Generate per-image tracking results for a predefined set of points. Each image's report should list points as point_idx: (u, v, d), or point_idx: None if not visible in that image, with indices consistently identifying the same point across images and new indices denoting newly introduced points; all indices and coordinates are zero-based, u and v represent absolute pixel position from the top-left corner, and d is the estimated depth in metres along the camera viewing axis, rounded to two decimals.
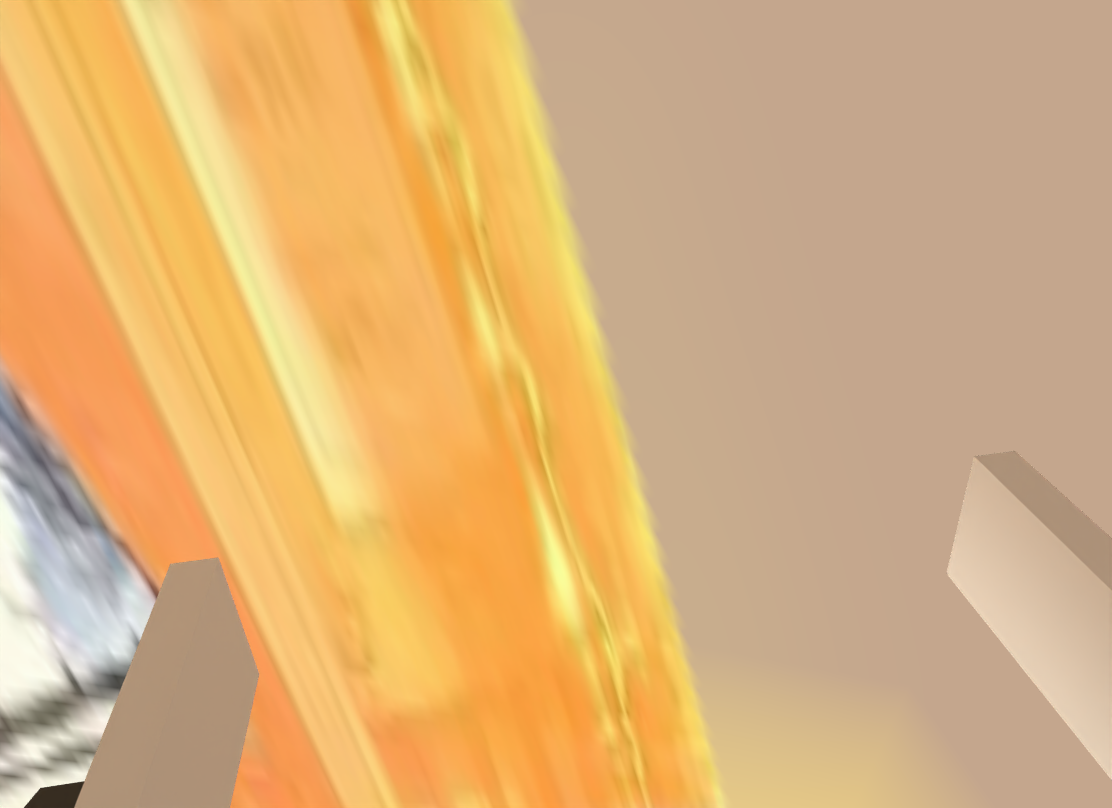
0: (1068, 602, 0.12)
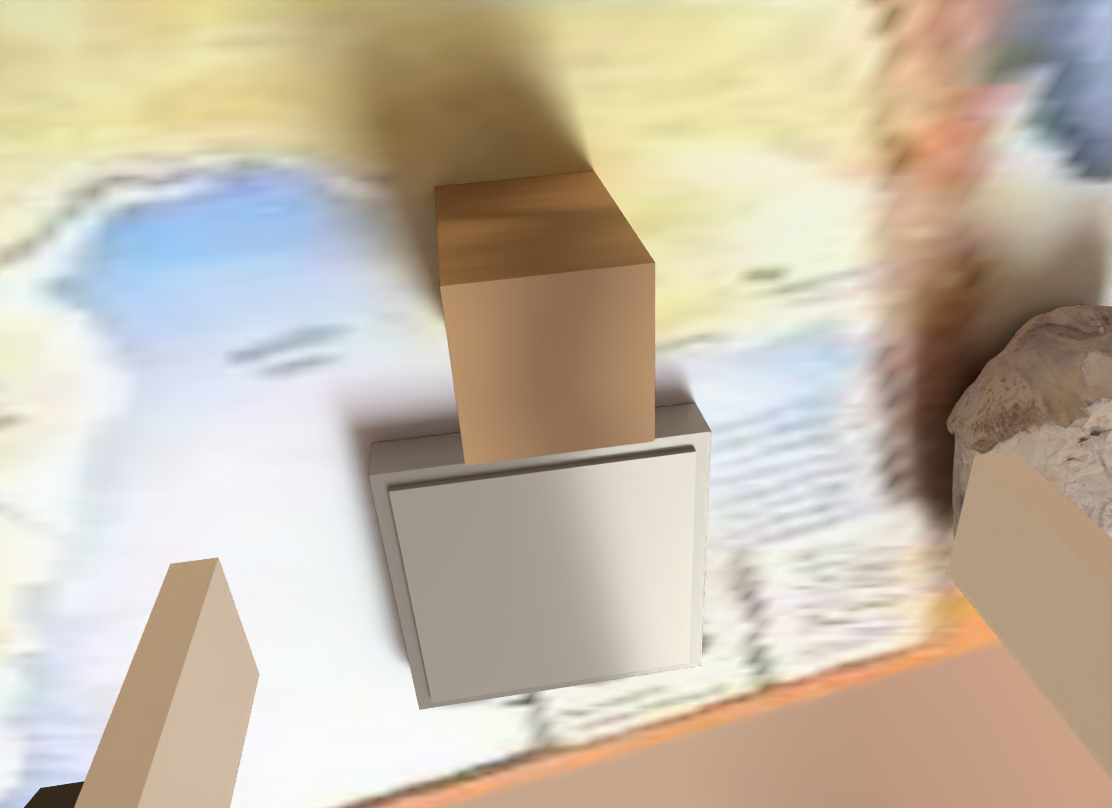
0: (1068, 602, 0.12)
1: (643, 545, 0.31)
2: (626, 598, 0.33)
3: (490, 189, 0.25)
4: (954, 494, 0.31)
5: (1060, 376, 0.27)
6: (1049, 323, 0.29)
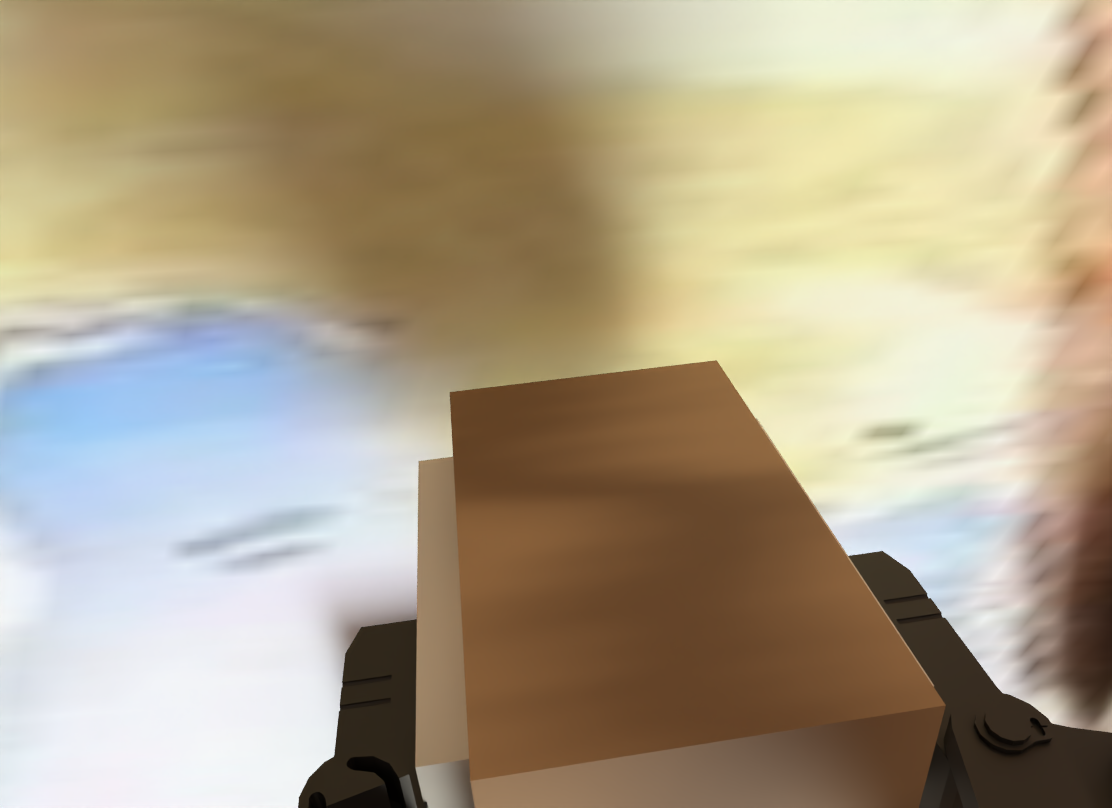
0: None
1: None
2: None
3: (545, 404, 0.15)
4: None
5: None
6: None
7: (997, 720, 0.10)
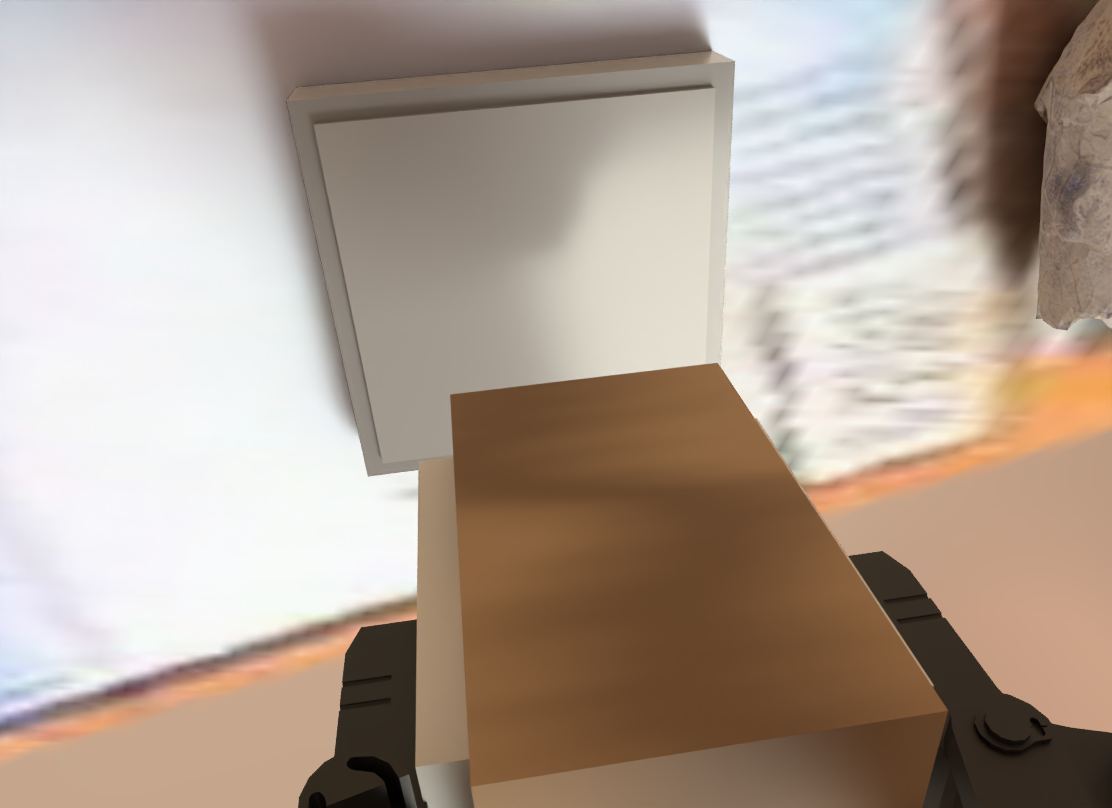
0: None
1: (647, 235, 0.25)
2: (625, 318, 0.26)
3: (545, 406, 0.15)
4: (1047, 182, 0.25)
5: None
6: None
7: (997, 720, 0.10)
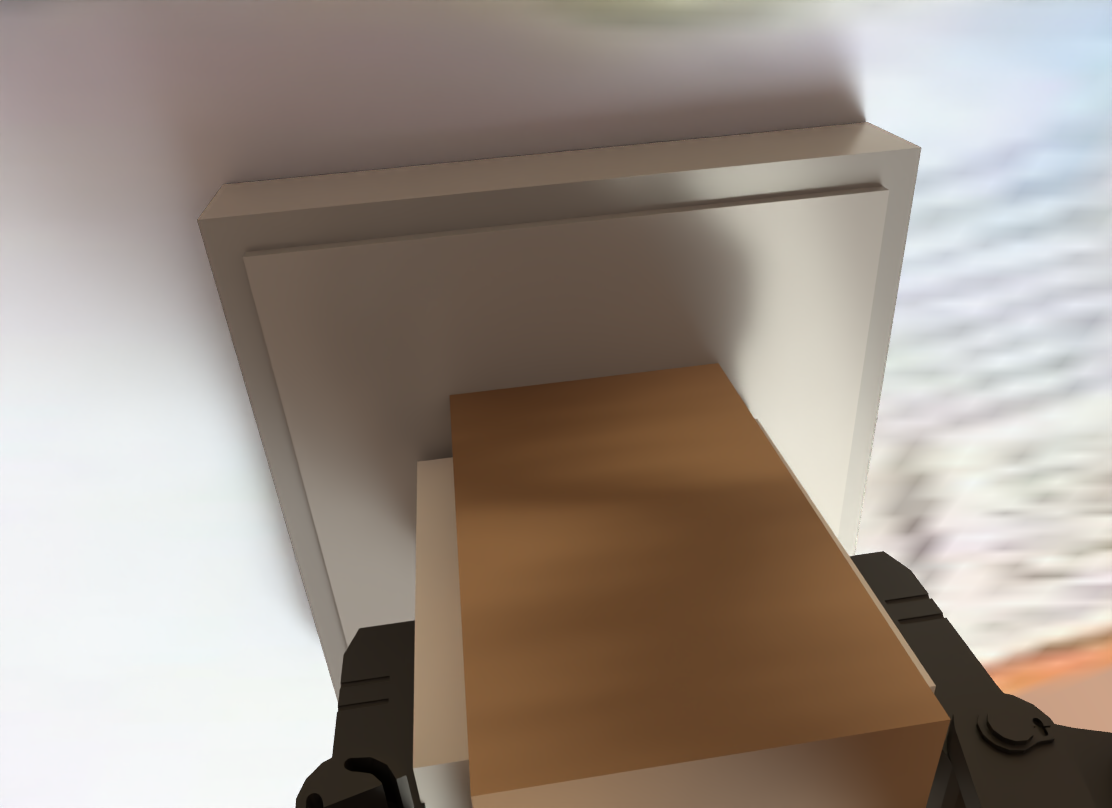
0: None
1: (764, 403, 0.16)
2: None
3: (546, 408, 0.14)
4: None
5: None
6: None
7: (1000, 720, 0.10)
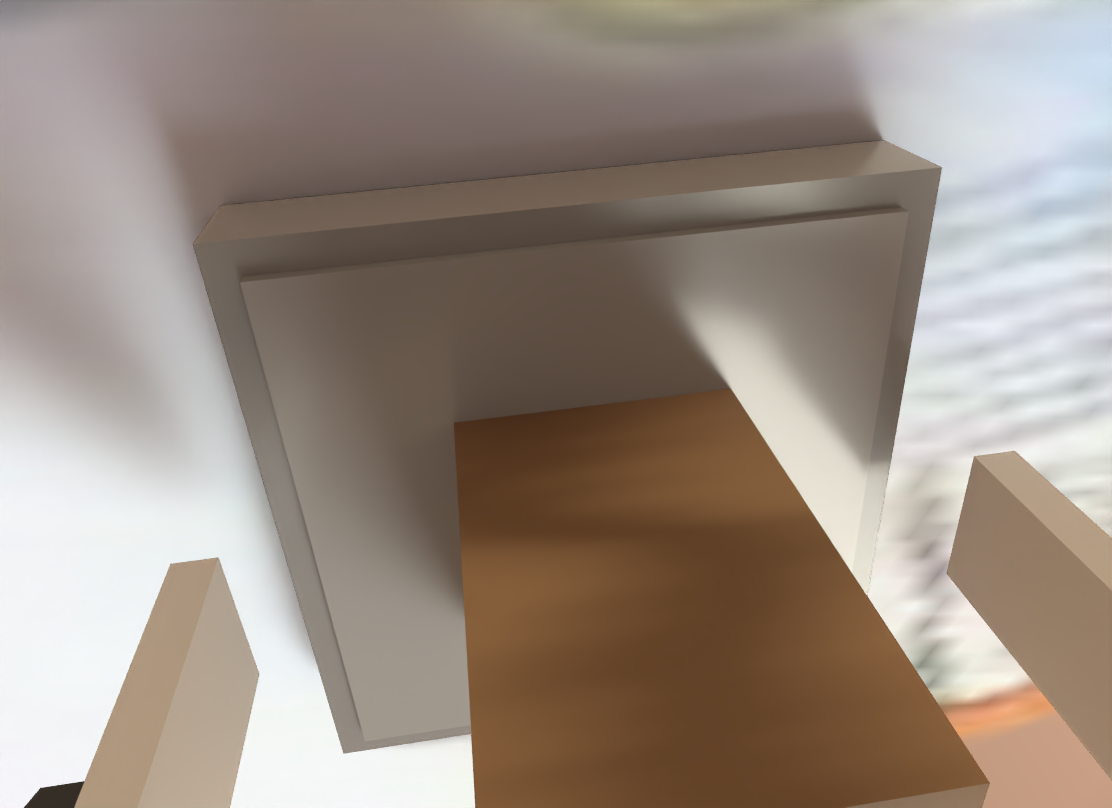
0: (1068, 603, 0.12)
1: (778, 429, 0.16)
2: None
3: (554, 436, 0.14)
4: None
5: None
6: None
7: None
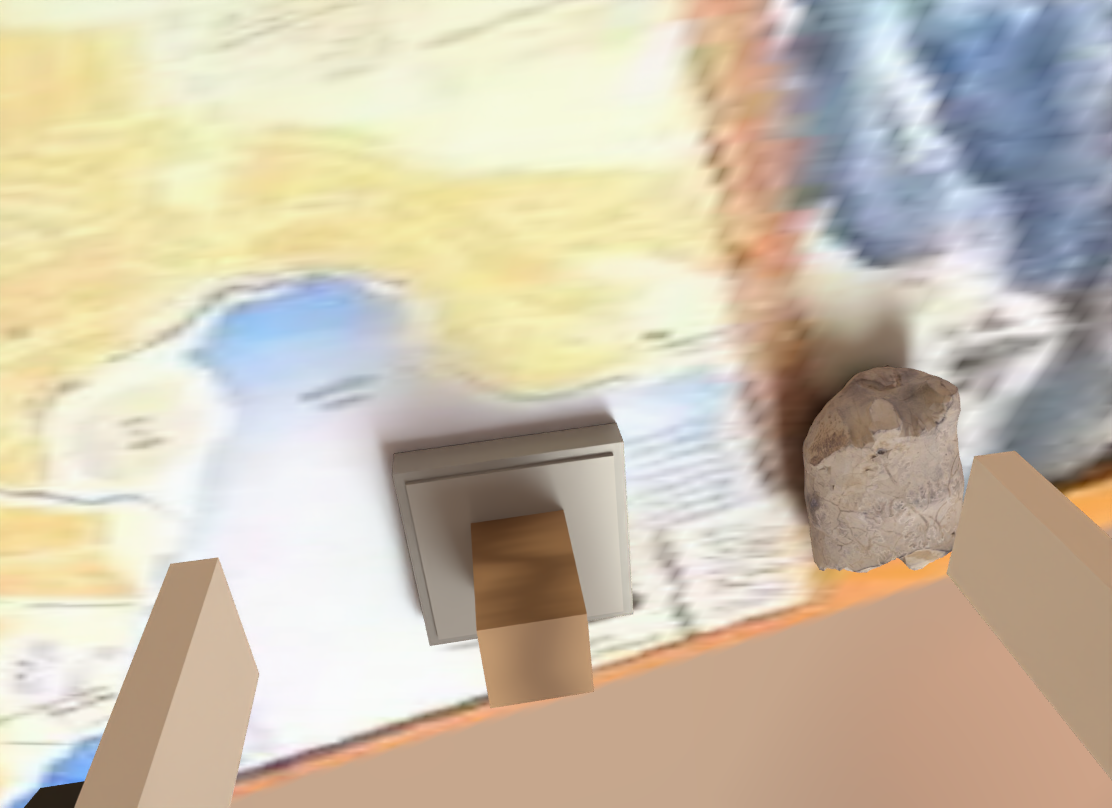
0: (1068, 603, 0.12)
1: (582, 522, 0.45)
2: None
3: (502, 528, 0.43)
4: (805, 495, 0.45)
5: (861, 414, 0.41)
6: (863, 378, 0.44)
7: None
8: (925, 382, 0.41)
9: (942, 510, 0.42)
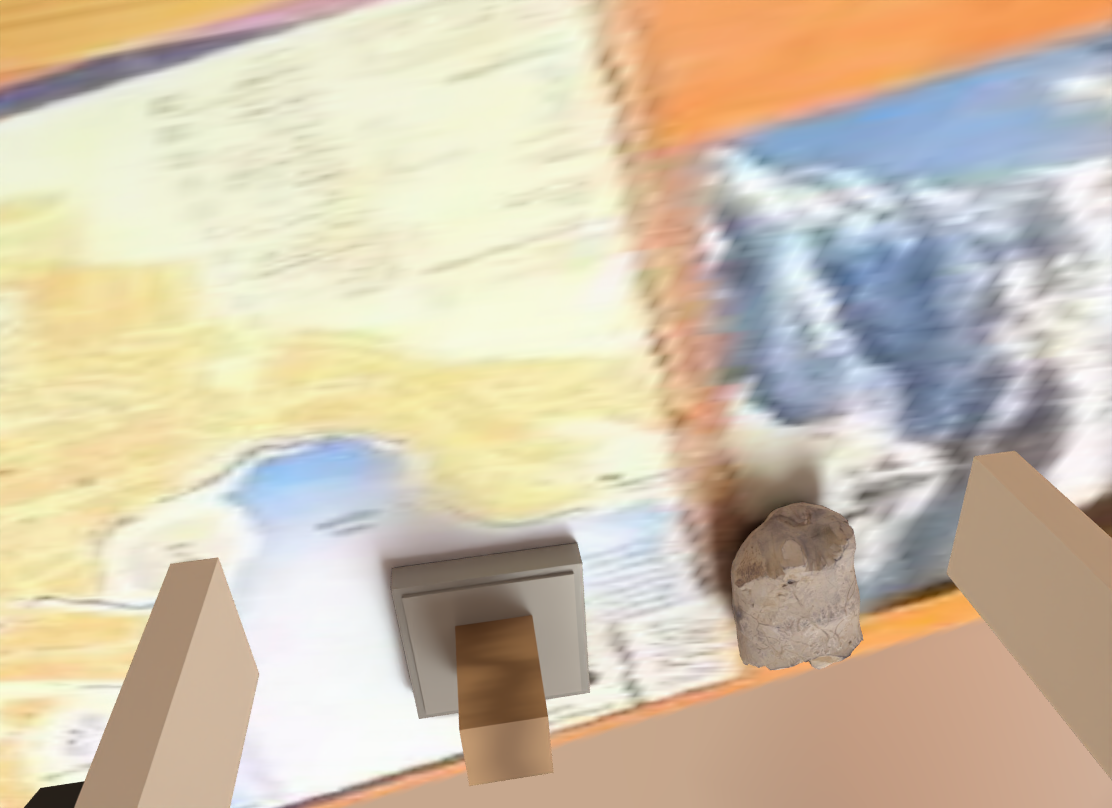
0: (1068, 603, 0.12)
1: (547, 624, 0.54)
2: (540, 653, 0.56)
3: (481, 632, 0.53)
4: (732, 605, 0.55)
5: (776, 550, 0.51)
6: (781, 515, 0.53)
7: None
8: (828, 525, 0.51)
9: (840, 625, 0.52)
